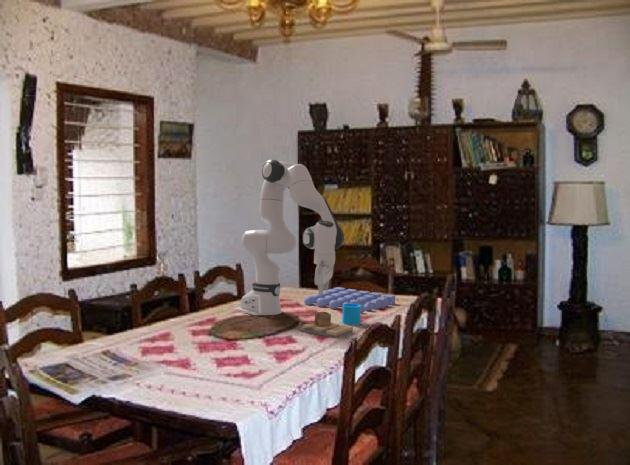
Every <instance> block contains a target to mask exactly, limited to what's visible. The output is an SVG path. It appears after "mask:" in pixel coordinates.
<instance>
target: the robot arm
mask: <svg viewBox="0 0 630 465" xmlns="http://www.w3.org/2000/svg"><path fill="white" fill-rule="evenodd" d="M261 175H262V178H263V179H264V180H263V182H262V186H261V191H260V197H259V207H258V208H259V209H258V216H259V218H260V219H261V220H262V221H263V222H264V223H266V224H268V225H270V229H251V230H246V231H244V233H243V234H242V236H241V242H240V243H241V246H242V248H243V249H244V251H246V252H247V253H248V254H249V255H250V257H251V258H252V260H253V262H254V266H255V267H254V268H255V281H254V283H252V284H250V286H251V287H252V289H251V290H250V291H249V292H247V293H246V294H245V295H243V296H242V298H241V300H240V305H239V306H236V307H235V311H237V312H242V313H245V314H249V315H252V316H276V315H280V314H282V307H281V299H280V292H281V283H280V276H281V274H280V271H281V269H280V266H279V265H278V263H276V262H275V261H273V260H271V259H270V258H269V254H270V255H274V254H275V255H287V254H291V253H293V252H294V250H296V247H297V239H296V236H295V235H294V233H293V232H292V231H291V230H290V229H289V228H288V227H287V225H286V223H285V219H284V200H285V198H284V194H285V191H286V189H287V188H288V189H289V193H290V196H291V198H292V201H293V202H294V203H295V204H296V205H299V207H302V208H306V209H309V210H312V211H314V212H316V213H317V214H318V215H319V216H320V218H321V220H318V221H317V222H316V223H315V225H313V226H310V227H306V228H305V230H304V231H303V233H302V244H303V245H304V246H305V247H306V249H310V250H314V252H313V264H315V265H316V268H315V272H314V285H315V286H317V290H318V293H317V294H323V291H326V290H329V283H330V280H331V279H332V277H333V274H334V267H335V263H336V251H335V250H338V249H339V248H340V247H342V245H343V244H344V242H345V233H344V231H343V229H342V228H341V226H340V225H339V224H338V221H337V219H336V218H335V215H334V213H333V211H332V210H331V207H330V205H329V203H328V201H327V199H326V197H324V196H323V195H321V194H320V192H319V191H318V190H317V189H316V187H315V185H314V182H313V179H312V176H311V174H310V172H309V170H308V168H307V167H306V166H305V165H304V164H302V163H296V164H295V163H293V162H289V161H282V160H277V159H269V160H267V161H265V162H264V164H263V166H262V169H261Z"/></svg>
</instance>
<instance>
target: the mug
mask: <svg viewBox="0 0 630 465" xmlns="http://www.w3.org/2000/svg"><path fill="white" fill-rule="evenodd" d="M361 314H362V313H361V305H359V304H353V303H347V304H343V309H342V318H341V320H342V321H341V323H342V325H346V326H358V325H361V319H362V318H361Z"/></svg>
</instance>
